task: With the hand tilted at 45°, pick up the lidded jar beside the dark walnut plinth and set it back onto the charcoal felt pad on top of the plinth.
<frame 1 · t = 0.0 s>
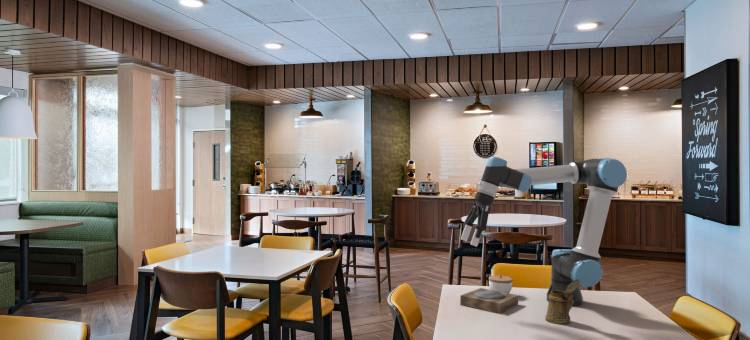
hand: (468, 242, 207), 28 cm above the table, tool tilted 20°, fingers open, 13 cm apart
lidded jar: (500, 295, 235), on the table
walnut plinth: (489, 304, 217), on the table
wooden mug: (562, 322, 195), on the table
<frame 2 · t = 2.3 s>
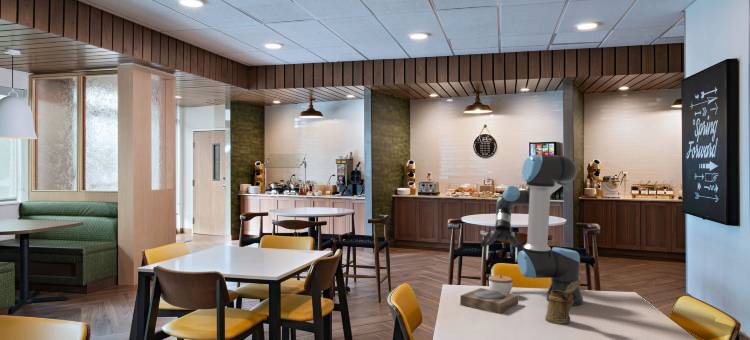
hand: (501, 259, 244), 15 cm above the table, tool tilted 45°, fingers open, 13 cm apart
nothing on the table moved.
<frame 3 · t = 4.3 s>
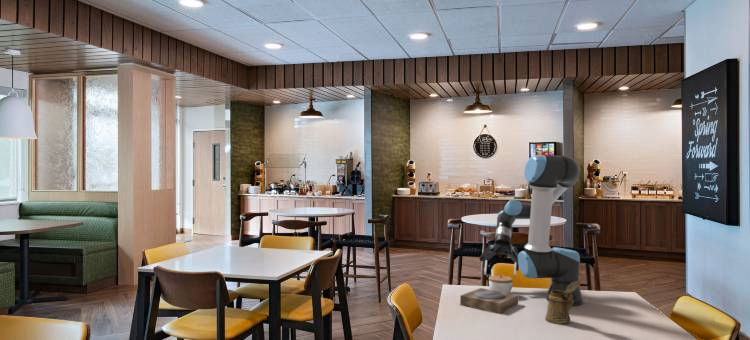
hand: (499, 274, 238), 9 cm above the table, tool tilted 45°, fingers open, 13 cm apart
nothing on the table moved.
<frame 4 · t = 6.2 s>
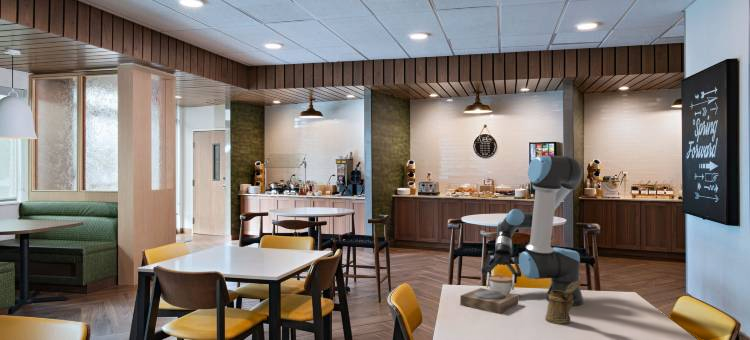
hand: (499, 287, 232), 4 cm above the table, tool tilted 45°, fingers closed on lidded jar, 11 cm apart
lidded jar: (500, 295, 235), on the table, touching gripper
everything else where it was.
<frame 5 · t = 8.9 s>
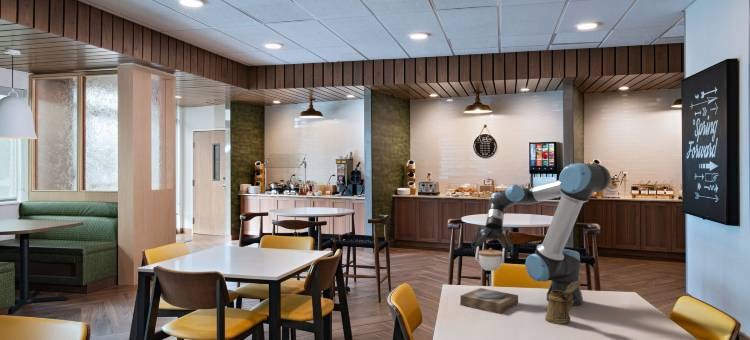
hand: (489, 261, 224), 17 cm above the table, tool tilted 45°, fingers closed on lidded jar, 11 cm apart
lidded jar: (490, 269, 226), point 13 cm above the table, touching gripper
everything else where it was.
when the fingers open (10 cm above the table, at t = 12.0 s): lidded jar drops 1 cm, resting on walnut plinth.
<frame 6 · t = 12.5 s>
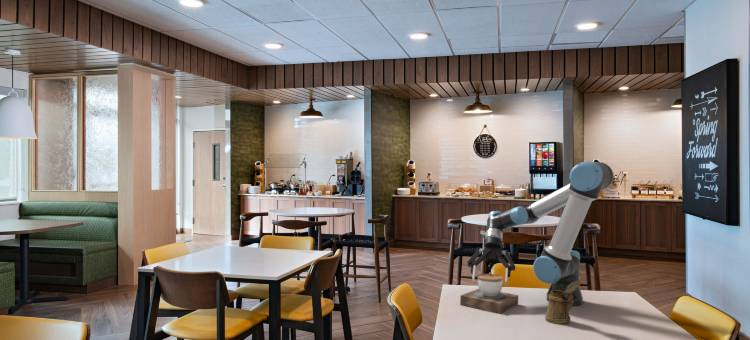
hand: (489, 281, 215), 10 cm above the table, tool tilted 45°, fingers open, 13 cm apart
lidded jar: (489, 295, 217), point 4 cm above the table, touching walnut plinth
everything else where it was.
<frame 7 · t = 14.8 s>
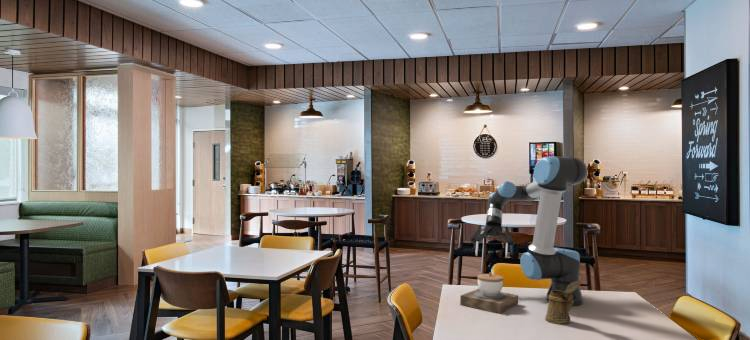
hand: (491, 255, 235), 18 cm above the table, tool tilted 45°, fingers open, 13 cm apart
nothing on the table moved.
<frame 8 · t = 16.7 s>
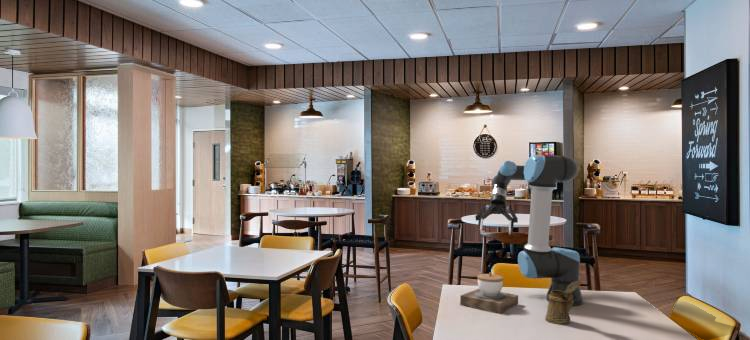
hand: (495, 231, 245), 28 cm above the table, tool tilted 45°, fingers open, 13 cm apart
nothing on the table moved.
at the end: lidded jar 0.1 cm off-centre on the walnut plinth, point 4.1 cm above the walnut plinth's base; lidded jar tilted 0°; the gripper is holding nothing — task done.
